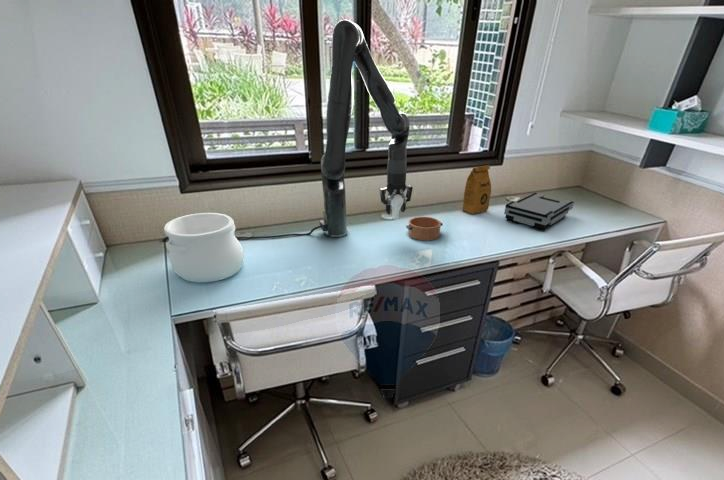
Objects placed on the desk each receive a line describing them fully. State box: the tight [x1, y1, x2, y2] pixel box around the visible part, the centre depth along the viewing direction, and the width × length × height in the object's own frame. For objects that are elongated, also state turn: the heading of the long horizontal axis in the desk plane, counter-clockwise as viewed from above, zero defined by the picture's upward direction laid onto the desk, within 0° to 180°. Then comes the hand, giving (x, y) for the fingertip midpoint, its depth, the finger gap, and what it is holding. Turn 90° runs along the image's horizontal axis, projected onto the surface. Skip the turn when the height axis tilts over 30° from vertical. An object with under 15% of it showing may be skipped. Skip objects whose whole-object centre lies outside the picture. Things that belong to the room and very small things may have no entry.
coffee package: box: [461, 164, 492, 215], centre depth 200 cm, size 10×12×22 cm
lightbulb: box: [390, 194, 403, 221], centre depth 167 cm, size 6×6×11 cm
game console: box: [503, 192, 575, 232], centre depth 197 cm, size 21×32×8 cm, turn 138°
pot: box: [163, 212, 245, 283], centre depth 143 cm, size 26×24×18 cm
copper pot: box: [405, 216, 444, 241], centre depth 179 cm, size 16×14×6 cm
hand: (395, 212), depth 168 cm, fingers closed on lightbulb, 5 cm apart
